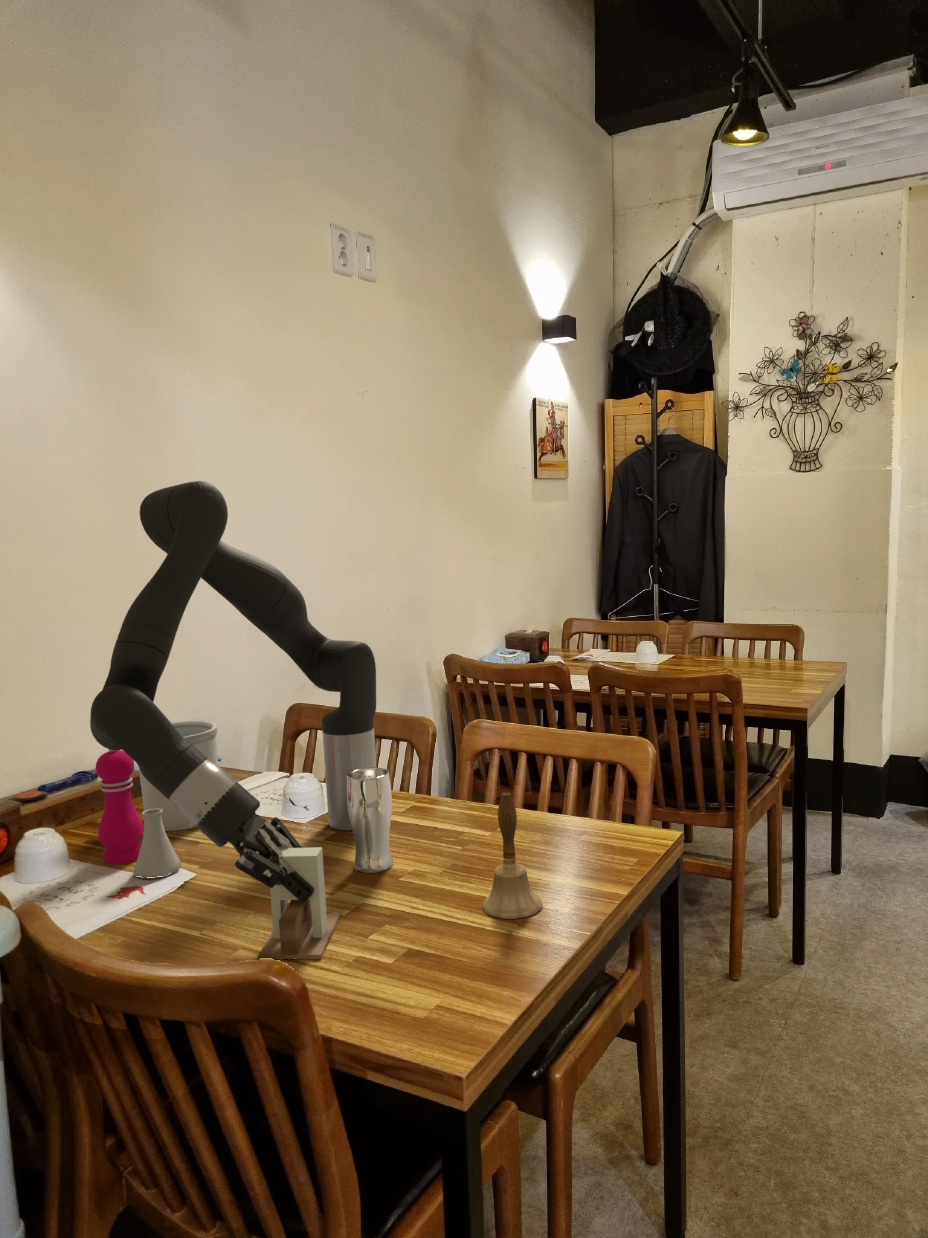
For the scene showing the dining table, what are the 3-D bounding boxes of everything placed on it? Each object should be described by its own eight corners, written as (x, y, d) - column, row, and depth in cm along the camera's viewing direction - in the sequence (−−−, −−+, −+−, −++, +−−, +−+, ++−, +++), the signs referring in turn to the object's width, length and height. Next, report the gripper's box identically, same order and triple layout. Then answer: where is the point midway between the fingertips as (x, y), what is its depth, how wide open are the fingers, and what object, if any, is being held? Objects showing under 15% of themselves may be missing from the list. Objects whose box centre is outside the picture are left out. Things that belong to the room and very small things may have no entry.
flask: (166, 881, 139) (160, 819, 138) (124, 880, 140) (118, 818, 139) (189, 863, 146) (184, 804, 145) (149, 862, 147) (144, 803, 146)
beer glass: (403, 860, 142) (398, 768, 141) (381, 877, 136) (375, 781, 135) (366, 855, 145) (360, 765, 144) (343, 871, 139) (336, 777, 138)
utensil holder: (211, 831, 162) (203, 736, 160) (129, 834, 162) (120, 740, 160) (233, 805, 176) (226, 718, 174) (158, 808, 177) (150, 721, 175)
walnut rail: (283, 918, 123) (280, 882, 123) (340, 916, 123) (338, 881, 122) (258, 960, 111) (255, 921, 111) (321, 959, 111) (318, 920, 110)
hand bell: (470, 906, 124) (464, 794, 122) (515, 889, 129) (510, 781, 127) (508, 925, 118) (503, 808, 116) (554, 906, 123) (549, 793, 121)
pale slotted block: (273, 938, 116) (267, 857, 115) (279, 928, 119) (274, 848, 118) (322, 938, 115) (316, 855, 114) (327, 927, 118) (322, 847, 117)
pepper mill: (155, 852, 152) (145, 737, 150) (126, 868, 145) (115, 748, 143) (121, 849, 154) (110, 735, 152) (91, 864, 148) (79, 746, 146)
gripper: (214, 798, 108) (319, 892, 109) (249, 766, 122) (343, 850, 123) (175, 842, 109) (280, 935, 110) (214, 805, 123) (307, 888, 124)
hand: (312, 889), depth 116 cm, fingers open, 3 cm apart
